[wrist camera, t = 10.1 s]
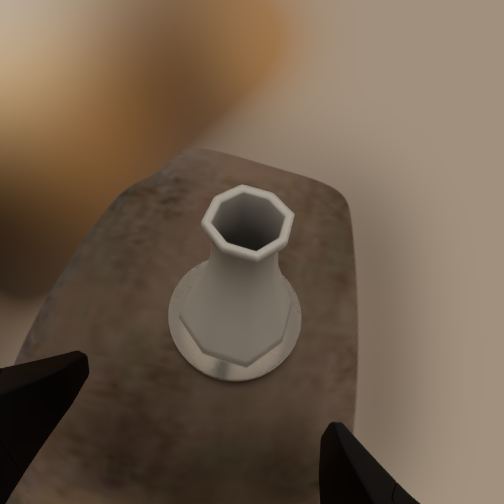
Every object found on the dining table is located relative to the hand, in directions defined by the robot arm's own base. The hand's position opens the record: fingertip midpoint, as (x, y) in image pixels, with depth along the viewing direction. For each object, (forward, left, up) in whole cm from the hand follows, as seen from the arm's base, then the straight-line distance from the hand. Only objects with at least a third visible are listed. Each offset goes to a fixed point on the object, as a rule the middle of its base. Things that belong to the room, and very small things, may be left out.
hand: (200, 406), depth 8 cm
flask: (+6, -1, -8) cm, 10 cm away
